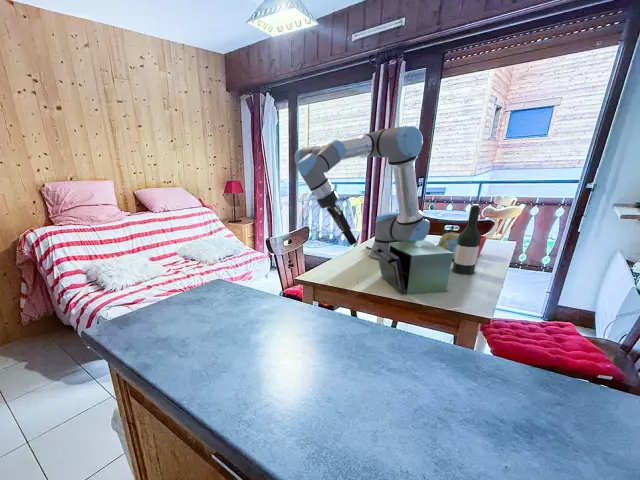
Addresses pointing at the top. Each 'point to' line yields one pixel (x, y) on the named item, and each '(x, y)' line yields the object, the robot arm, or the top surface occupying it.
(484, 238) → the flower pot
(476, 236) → the wine bottle
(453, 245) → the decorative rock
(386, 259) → the oven door
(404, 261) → the oven
